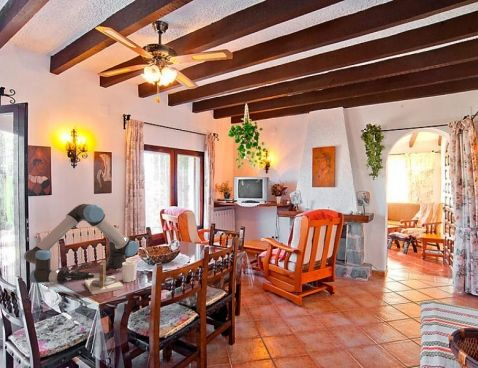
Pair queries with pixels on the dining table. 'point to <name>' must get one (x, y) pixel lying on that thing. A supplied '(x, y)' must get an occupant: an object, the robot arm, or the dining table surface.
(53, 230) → the robot arm
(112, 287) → the dial plate
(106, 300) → the dining table surface
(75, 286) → the dining table surface
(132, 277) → the candle holder
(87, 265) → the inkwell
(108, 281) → the wooden bookend
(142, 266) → the dining table surface
